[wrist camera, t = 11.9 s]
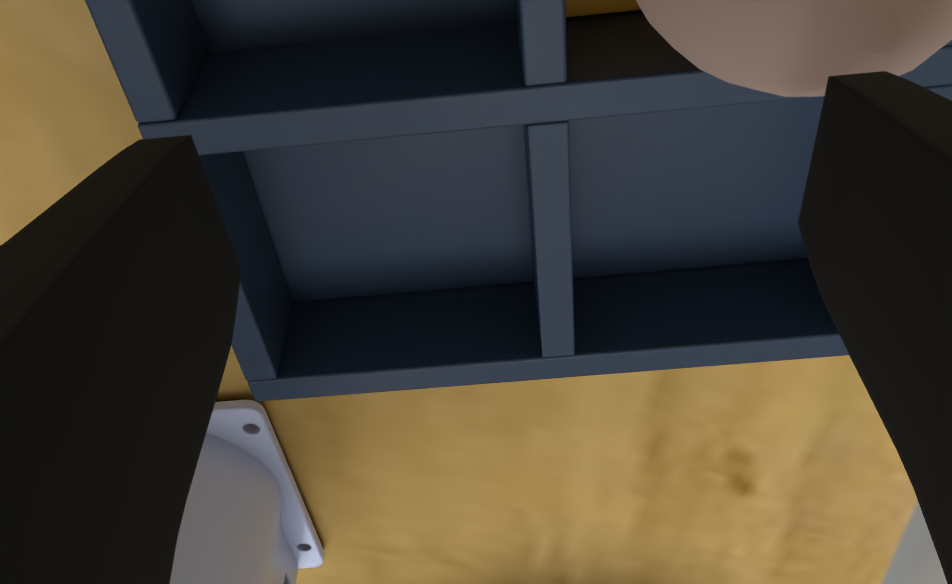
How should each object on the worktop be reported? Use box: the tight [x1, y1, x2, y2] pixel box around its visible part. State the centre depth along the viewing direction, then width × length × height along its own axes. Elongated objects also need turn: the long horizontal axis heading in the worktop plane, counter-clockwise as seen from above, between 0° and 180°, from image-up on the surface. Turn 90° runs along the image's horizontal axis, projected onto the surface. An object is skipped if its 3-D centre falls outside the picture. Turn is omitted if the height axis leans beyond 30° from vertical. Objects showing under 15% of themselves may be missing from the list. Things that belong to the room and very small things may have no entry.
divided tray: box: [85, 0, 952, 401], centre depth 17 cm, size 15×15×3 cm
